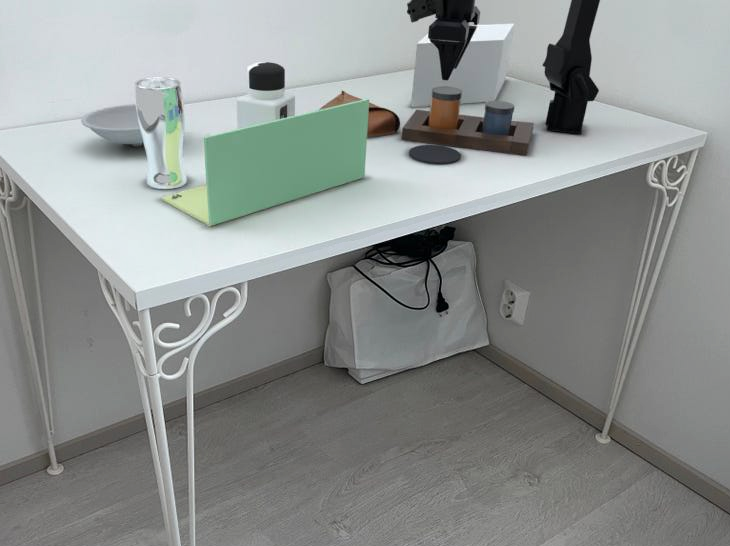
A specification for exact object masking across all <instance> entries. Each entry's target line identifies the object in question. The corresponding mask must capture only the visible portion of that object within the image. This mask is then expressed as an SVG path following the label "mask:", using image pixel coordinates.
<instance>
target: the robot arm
mask: <svg viewBox="0 0 730 546" xmlns="http://www.w3.org/2000/svg"><path fill="white" fill-rule="evenodd" d="M600 3H601V0H571V1H570V5H569V8H568V13H567V16H566V20H565V25H564V28H563V32H562V35H561V36H560V37H559V39H558V40H557V42H556V43H555V44H554V43H548V45H547V48H546V57H545V60H544V62H543V63H542V67H544V73H543V74H544V76H545V78H546V80H547V81H548V84H549V90H550V91H552V92H554V96H553V99H550V100H549V104H548V108H547V113H546V119H545V125H546V126H547V127H546V130H547V131H551V132H559V133H569V134H576V135H582V133H583V124H584V121H585V116H586V113H587V107H588V103H589V102H594V101H595V100H596V97H597V95H598V94H599V92H600V89H599V88H598V86H597V85H596V83H595V82H594V80H593V79H592V78H591V68H592V61H593V56H592V49H591V36H592V31H593V28H594V24H595V20H596V17H597V13H598V10H599V7H600ZM475 4H476V0H410V1H408V2H407V3H406V6H407V10H406V13H407V15H409V18H410V19H409V20H410V22H411V23H417V22H418V21H419V20H423V19H424V18H428V17H431V16H435V20H434V21H433V22H432V23H430V25H429V26H428V32H427V34H428V38H429V39H430V42H431V43H433V44H434V45H435V46H436V47H437V49H438V51H439V58H440V66H441V75H442V80H449V78H450V76H451V74H452V71H453V69H456V68H457V66H458V64H459V62H460V60H461V58H462V56H463V54H464V52H465V50H466V48H467V46H468V44H469V42H470V40H471V38H472V36H473V34H474V32H475V31H476V29H477V26H472V25H480V19H481V11H480V9H479V8H478V7H477V5H475ZM470 23H473V24H470Z"/></svg>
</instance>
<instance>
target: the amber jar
mask: <svg viewBox="0 0 730 546" xmlns="http://www.w3.org/2000/svg"><path fill="white" fill-rule="evenodd" d="M461 98H462V90H461V89H458V88H455V87H447V86H440V87H434V88H432V91H431V105H430V106H429V111H430V114H429V123H428V126H430V127H439V128H447V129H455V130H457V126H458V118H459V114H460V109H461V104H460V103H461Z"/></svg>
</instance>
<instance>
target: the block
mask: <svg viewBox="0 0 730 546" xmlns="http://www.w3.org/2000/svg"><path fill="white" fill-rule="evenodd" d="M471 25H472V26H477V29H476V31H475V32H474V34H473V36H472V38H471V40H470V42H469V44H468V46H467V48H466V50H465V52H464V54H463V56H462V58H461V60H460V62H459V64H458V66H457V68H456V69H453V71H452V74H451V76H450V78H449V80H442V75H441V66H440V58H439V51H438V49H437V47H436V46H435V45H434V44H433V43H431V42H430V39H429V38H428V33H427V34H426V35H425V36H423V38H421V39H420V40H419V41H418V42H417V43H416V49H415V60H414V71H413V81H412V92H411V101H410V103H411V104H410V108H418V107H430V105H431V91H432V88H434V87H440V86H447V87H455V88H458V89H461V90H462V98H461V103H460V105H461V104H463V105H464V104H476V103H486V102H489V101H496V99H497V97H498V95H499V93H500V91H501V89H502V87H503V85H504V84H505V82H506V78H507V77H506V76H507V71H508V65H509V60H510V59H509V58H510V53H511V46H512V40H513V34H514V27H515V23H494V24H478V25H474V24H471Z"/></svg>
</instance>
